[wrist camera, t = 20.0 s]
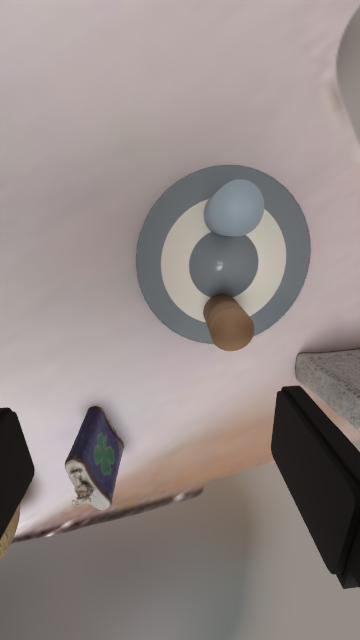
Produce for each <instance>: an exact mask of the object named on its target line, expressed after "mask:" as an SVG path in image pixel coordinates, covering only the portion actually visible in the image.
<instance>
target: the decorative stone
mask: <svg viewBox="0 0 360 640" xmlns="http://www.w3.org/2000/svg"><path fill="white" fill-rule="evenodd" d="M296 376H297V380H298V381H299V382H300V383H301V384H302V385H303V386H305V387H306V388H308V389H309V390H311V391H312V392H313V393H315V394H316V395H317V396H319V397H320V398H321V399H322V400H323V401H324V402H325V403H326V404H327V405H328V406H329V407H330V408H331V409H333V410H334V411H335V412H336V413H337V414H338V415H339V416H340V417H342V418H343V419H345V420H346V421H348V422H349V423H350V424H351V425H353V426H354V427H355V428H357V429H358V430H359V431H360V349H357V350H350V351H339V352H338V351H336V352H329V353H305V354H299V355H298V356H297V360H296Z"/></svg>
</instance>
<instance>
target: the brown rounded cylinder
mask: <svg viewBox="0 0 360 640" xmlns="http://www.w3.org/2000/svg"><path fill="white" fill-rule="evenodd" d="M203 315H204V319H205V321H206V324H207V327H208V330H209V333H210V335H211V338H212V341H213V342H214V344H215V345H216V346H217V347H219V348H220V349H223V350H226V351H235V350H239V349H241V348H243V347H245V346H246V345H247V344H248V343H249V342H250V341H251V339H252V337H253V335H254V323H253V321H252V319H251V318H250V317H249V315H248V314H247V313H246V312H245V311H244V310H243V308H242V307H241V306H240V305H239V304H238V303H237V301H236V300H235V299H234V298H232V297H231V296H229V295H224V294H221V295H216V296H214V297H212V298H211V299H209V300H208V301H207V303H206V304H205V306H204V310H203Z"/></svg>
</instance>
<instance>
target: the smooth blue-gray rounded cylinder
mask: <svg viewBox="0 0 360 640" xmlns="http://www.w3.org/2000/svg"><path fill="white" fill-rule="evenodd" d="M263 213H264V198H263V195H262V193H261V191H260V190H259V188H258V187H257V186H256V185H255V184H254V183H252V182H250V181H248V180H243V179H237V180H233V181H230V182H228V183H227V184H225V185H224V186H223V187H221V188H220V189H219V190H218V191H217V192H216V193H215V194H214V195H213V196H212V197H211V198H210V199H209V200H208V201H207V203H206V205H205V208H204V221H205V224H206V226H207V227H208V229H209V230H210V231H211V232H213V233H214V234H216V235H220V236H243V235H246V234H248V233H250V232H251V231H253V230H254V229H255V228H256V227H257V226H258V224H259V223H260V221H261V219H262V216H263Z"/></svg>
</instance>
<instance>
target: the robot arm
mask: <svg viewBox="0 0 360 640" xmlns="http://www.w3.org/2000/svg"><path fill="white" fill-rule="evenodd" d="M271 451H272V455H273V458H274V460H275V462H276V464H277V466H278V468H279V470H280V472H281V474H282V476H283V478H284V481H285V483H286V484H287V486H288V488H289V491H290V493H291V495H292V497H293V499H294V501H295V503H296V505H297V507H298V509H299V511H300V513H301V515H302V517H303V520H304V522H305V524H306V526H307V528H308V530H309V532H310V534H311V536H312V538H313V540H314V542H315V544H316V546H317V548H318V550H319V552H320V554H321V557H322V559H323V561H324V563H325V565H326V567H327V568H328V570H329V571H330V572H331V573H332V574H336V575H337V577H338V579H339V581H340V583H341V585H342V587H343V589H347V588H355V587H360V452H359V451H358V450H357V448H356V447H355V446H354V445H353V444H352V443H351V442H350V441H349V439H348V438H347V437H346V436H345V435H344V434H343V433H342V432H341V430H340V429H339V428H338V427H337V426H336V425H335V424H334V423H333V422H332V421H331V420H330V419H329V418H328V417H327V416H326V414H325V413H324V412H323V411H322V410H321V409H320V408H319V407H318V405H317V404H316V403H315V402H314V401H313V400H312V399H311V397H310V396H309V395H308V394H307V393H306V392H305V391H304V390H303V388H302V387H300V386H286V387H282V389H281V391H278V392H277V398H276V407H275V416H274V425H273V433H272V442H271ZM33 476H34V465H33V462H32V459H31V456H30V453H29V450H28V447H27V444H26V441H25V438H24V435H23V432H22V429H21V426H20V423H19V420H18V417H17V414H16V413H15V412H13V411H12V410H11V409H10V408H0V540H1V538H2V536H3V534H4V532H5V530H6V528H7V527H8V525H9V523H10V521H11V519H12V517H13V515H14V513H15V511H16V509H17V508H18V506H19V504H20V502H21V500H22V498H23V496H24V494H25V492H26V490H27V488H28V487H29V485H30V483H31V481H32V479H33Z"/></svg>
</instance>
